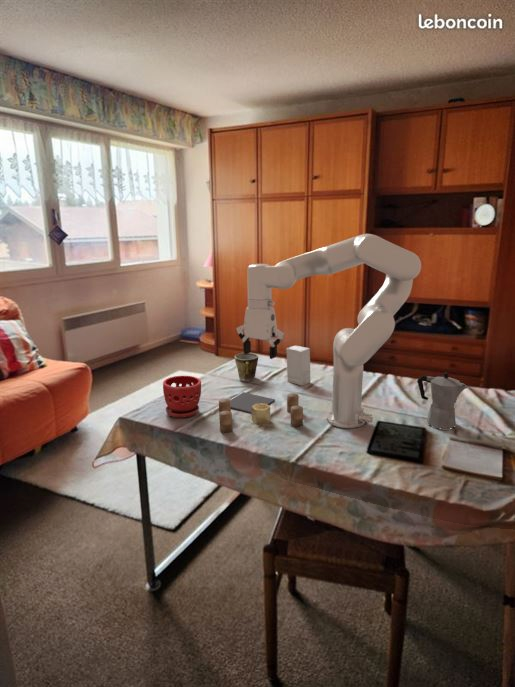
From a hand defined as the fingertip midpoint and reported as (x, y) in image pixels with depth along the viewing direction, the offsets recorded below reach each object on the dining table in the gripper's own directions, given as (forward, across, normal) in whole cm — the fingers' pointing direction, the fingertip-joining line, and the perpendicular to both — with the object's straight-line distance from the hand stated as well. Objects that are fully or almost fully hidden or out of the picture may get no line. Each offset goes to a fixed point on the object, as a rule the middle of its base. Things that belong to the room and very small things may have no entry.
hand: (259, 355), depth 149 cm
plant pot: (+23, +27, +8) cm, 36 cm away
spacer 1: (+23, +12, +4) cm, 26 cm away
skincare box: (+23, +5, -39) cm, 46 cm away
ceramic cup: (+23, +25, -31) cm, 46 cm away
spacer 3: (+23, -6, -12) cm, 27 cm away
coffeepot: (+23, -52, -27) cm, 63 cm away
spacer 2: (+23, +6, +12) cm, 27 cm away
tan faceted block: (+23, 0, 0) cm, 23 cm away
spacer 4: (+23, -12, -3) cm, 26 cm away
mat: (+23, +11, -10) cm, 27 cm away
